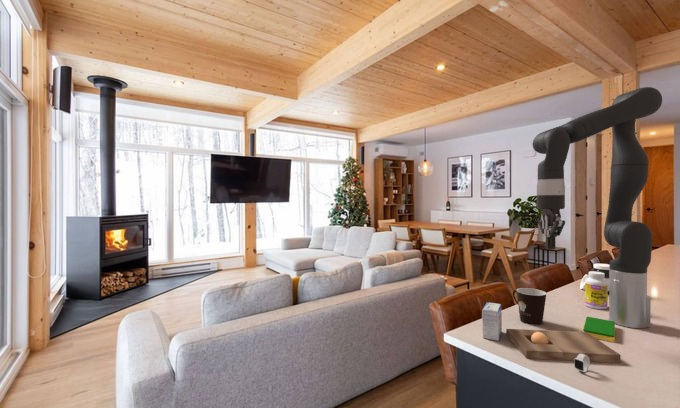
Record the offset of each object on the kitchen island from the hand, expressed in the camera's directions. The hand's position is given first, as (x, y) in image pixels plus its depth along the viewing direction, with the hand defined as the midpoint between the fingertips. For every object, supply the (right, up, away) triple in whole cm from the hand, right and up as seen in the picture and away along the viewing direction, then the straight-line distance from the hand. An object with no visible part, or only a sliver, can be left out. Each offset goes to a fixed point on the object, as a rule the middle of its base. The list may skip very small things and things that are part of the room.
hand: (550, 248), depth 104 cm
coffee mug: (-3, -25, +7) cm, 26 cm away
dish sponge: (+13, -26, -3) cm, 29 cm away
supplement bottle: (+29, -25, +19) cm, 42 cm away
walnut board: (-7, -25, -14) cm, 30 cm away
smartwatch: (-9, -26, -26) cm, 38 cm away
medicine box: (-21, -26, -5) cm, 33 cm away
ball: (-11, -23, -13) cm, 29 cm away
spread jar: (+45, -24, +38) cm, 64 cm away
